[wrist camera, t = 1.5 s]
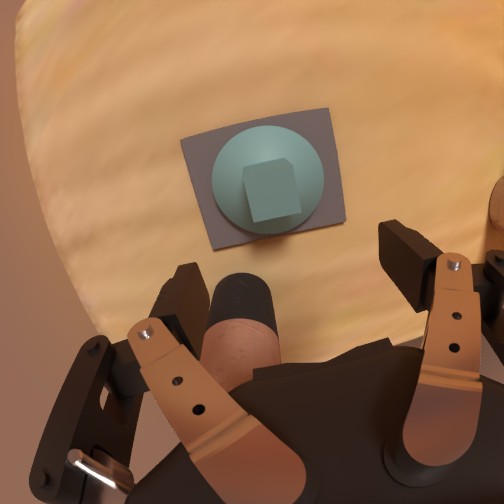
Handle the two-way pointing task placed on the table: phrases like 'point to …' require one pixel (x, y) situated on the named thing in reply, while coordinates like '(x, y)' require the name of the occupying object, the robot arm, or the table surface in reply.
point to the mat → (303, 123)
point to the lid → (267, 179)
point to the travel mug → (240, 331)
